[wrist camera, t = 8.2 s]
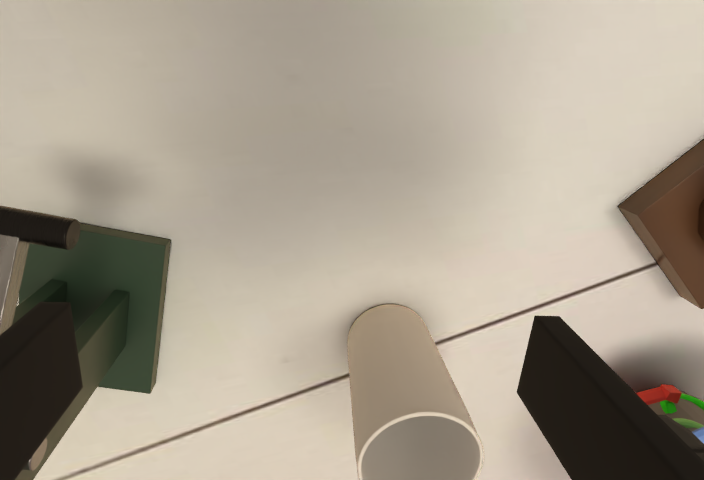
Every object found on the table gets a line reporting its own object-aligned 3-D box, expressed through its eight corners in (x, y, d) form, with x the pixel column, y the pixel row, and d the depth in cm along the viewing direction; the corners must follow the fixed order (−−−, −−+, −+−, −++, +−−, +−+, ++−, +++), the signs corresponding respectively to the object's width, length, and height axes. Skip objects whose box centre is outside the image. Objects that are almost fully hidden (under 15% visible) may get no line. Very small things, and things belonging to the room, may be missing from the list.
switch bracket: (29, 213, 30) (-218, 336, 16) (171, 239, 31) (56, 373, 17) (29, 366, 34) (-170, 571, 20) (155, 383, 35) (51, 587, 21)
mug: (340, 304, 34) (352, 420, 23) (430, 295, 34) (486, 405, 23) (350, 413, 37) (365, 560, 26) (431, 404, 38) (480, 545, 27)
